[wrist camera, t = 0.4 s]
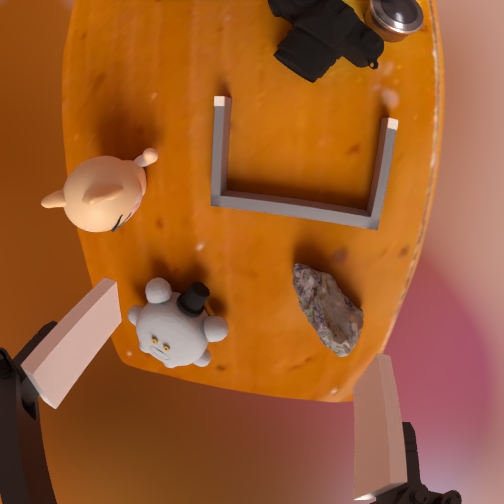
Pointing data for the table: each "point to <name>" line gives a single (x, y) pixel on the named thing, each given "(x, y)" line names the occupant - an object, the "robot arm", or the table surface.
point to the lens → (394, 18)
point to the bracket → (293, 205)
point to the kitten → (103, 191)
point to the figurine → (177, 324)
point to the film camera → (324, 37)
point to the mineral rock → (328, 309)
